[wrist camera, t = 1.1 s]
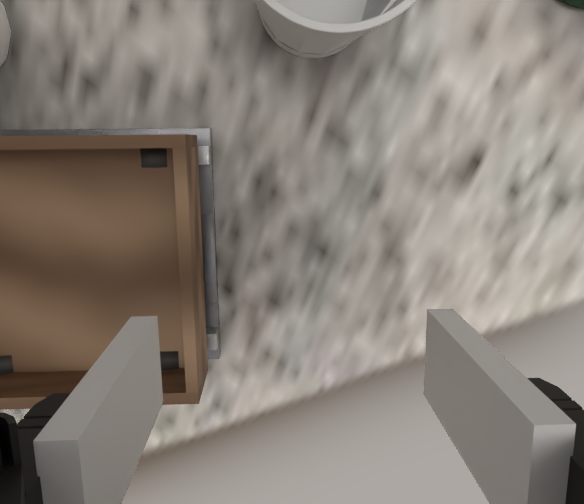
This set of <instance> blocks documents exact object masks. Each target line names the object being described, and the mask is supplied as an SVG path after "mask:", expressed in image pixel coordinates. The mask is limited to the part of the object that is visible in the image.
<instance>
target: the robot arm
mask: <svg viewBox="0 0 584 504" xmlns="http://www.w3.org/2000/svg"><path fill="white" fill-rule="evenodd" d="M424 395H425V397H426V399H427V400H428V402H429V404H430V405H431V407H432V409H433V410H434V412H435V414H436V415H437V417H438V418H439V420H440V422H441V423H442V425H443V427H444V429H445V430H446V432H447V434H448V435H449V437H450V438H451V440H452V442H453V443H454V445H455V447H456V449H457V450H458V452H459V454H460V455H461V457H462V458H463V460H464V461H465V463H466V465H467V467H468V468H469V470H470V472H471V473H472V475H473V477H474V478H475V480H476V482H477V483H478V485H479V487H480V488H481V490H482V492H483V493H484V495H485V497H486V498H487V500H488V502H489V503H490V504H584V410H582V407H581V406H580V405H578V404H577V403H576V402H575V401H572V400H571V398H570V397H569V396H568V395H567V394H566V393H564V392H563V391H562V390H561V389H560V388H559V387H557V386H555V385H553V384H550V383H549V382H546V381H544V380H542V379H540V378H526V377H525V376H524V375H523V374H522V373H521V372H520V371H519V370H518V369H516V367H514V366H513V365H512V364H511V363H510V362H509V361H508V360H507V359H506V358H505V357H504V356H503V355H502V354H500V353H499V352H498V351H497V350H496V349H495V348H494V347H493V346H492V345H491V344H490V343H489V342H488V341H486V340H485V339H484V338H483V337H482V336H481V335H480V334H479V333H478V332H477V331H476V330H475V329H474V328H472V327H471V326H470V325H469V324H468V323H467V322H466V321H465V320H464V319H463V318H462V317H461V316H460V315H459V314H457V313H456V312H455V311H454V310H453V309H427V329H426V352H425V378H424ZM162 403H163V392H162V377H161V362H160V347H159V332H158V317H157V316H131V317H130V319H129V320H128V321H127V322H126V324H125V325H124V326H123V328H122V329H121V330H120V331H119V333H118V334H117V335H116V336H115V338H114V339H113V340H112V342H111V343H110V344H109V345H108V347H107V348H106V349H105V350H104V352H103V353H102V354H101V356H100V357H99V358H98V359H97V361H96V362H95V363H94V364H93V366H92V367H91V368H90V370H89V371H88V372H87V373H86V375H85V376H84V377H83V378H82V380H81V381H80V382H79V384H78V385H77V386H76V387H75V389H74V390H73V391H72V392H71V393H53V394H51V395H50V396H48V397H46V398H45V399H43V400H41V401H40V402H38V403H36V404H35V405H34V406H33V407H32V408H31V409H30V410H29V412H28V413H27V414H26V415H25V416H24V419H21V421H20V422H19V423H18V424H17V423H16V421H15V418H14V417H13V416H11V415H8V414H6V413H0V504H121V503H122V501H123V499H124V496H125V494H126V491H127V489H128V487H129V484H130V482H131V479H132V476H133V474H134V472H135V469H136V467H137V464H138V462H139V459H140V457H141V455H142V452H143V450H144V447H145V445H146V443H147V440H148V438H149V435H150V433H151V430H152V428H153V425H154V423H155V420H156V418H157V416H158V413H159V411H160V408H161V406H162Z"/></svg>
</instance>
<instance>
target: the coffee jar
mask: <svg viewBox="0 0 584 504" xmlns="http://www.w3.org/2000/svg"><path fill="white" fill-rule="evenodd" d="M564 1H565V2H567V3H568V4H570V5H572V6H575V7H579V8H584V0H564Z"/></svg>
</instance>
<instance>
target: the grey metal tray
mask: <svg viewBox="0 0 584 504" xmlns="http://www.w3.org/2000/svg"><path fill="white" fill-rule="evenodd" d="M167 134H188V135H197V145H198V167H199V189H200V210H201V232H202V253H203V275H204V296H205V318H206V339H207V359H219V358H220V331H219V307H218V282H217V258H216V233H215V209H214V184H213V160H212V136H211V128H174V129H74V130H0V136H71V135H167Z"/></svg>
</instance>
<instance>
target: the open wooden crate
mask: <svg viewBox="0 0 584 504" xmlns="http://www.w3.org/2000/svg"><path fill="white" fill-rule="evenodd" d="M131 316H157V317H158V332H159V347H160V362H161V377H162V392H163V403H162V405H167V404H199V401H200V397H201V394H202V390H203V386H204V382H205V379H206V375H207V371H208V361H207V339H206V318H205V296H204V275H203V253H202V232H201V210H200V189H199V167H198V145H197V135H188V134H167V135H71V136H0V409H28V408H32V407H33V406H34V405H35V404H36V403H38V402H40V401H41V400H43V399H45V398H46V397H48V396H50V395H51V394H53V393H71V392H72V391H73V390H74V389H75V387H76V386H77V385H78V384H79V382H80V381H81V380H82V378H83V377H84V376H85V375H86V373H87V372H88V371H89V370H90V368H91V367H92V366H93V364H94V363H95V362H96V361H97V359H98V358H99V357H100V356H101V354H102V353H103V352H104V350H105V349H106V348H107V347H108V345H109V344H110V343H111V342H112V340H113V339H114V338H115V336H116V335H117V334H118V333H119V331H120V330H121V329H122V328H123V326H124V325H125V324H126V322H127V321H128V320H129V319H130V317H131Z"/></svg>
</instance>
